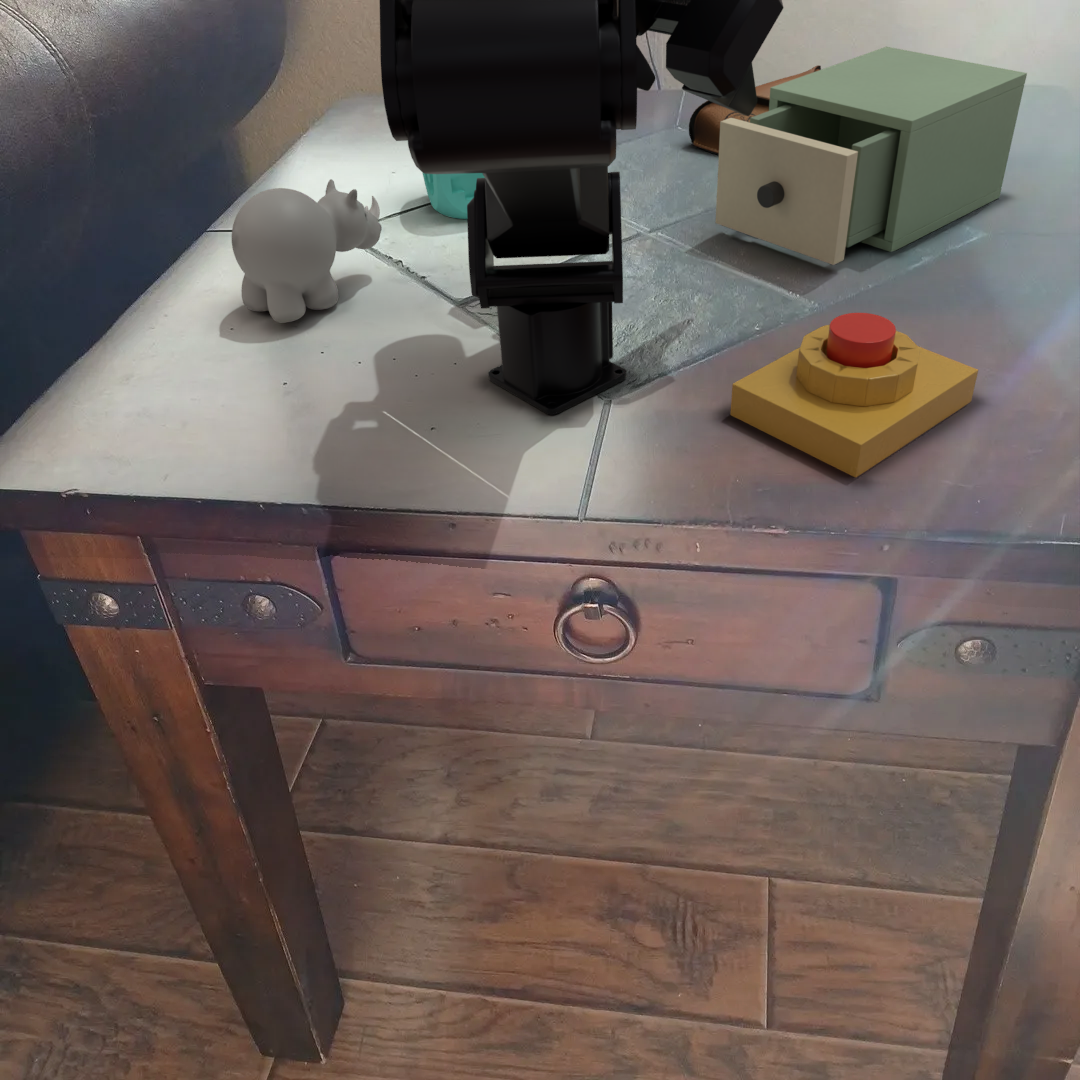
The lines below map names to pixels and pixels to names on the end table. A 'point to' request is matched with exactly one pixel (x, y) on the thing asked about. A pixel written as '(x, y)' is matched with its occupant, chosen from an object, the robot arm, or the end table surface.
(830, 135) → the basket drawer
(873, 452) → the control block
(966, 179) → the green drawer cabinet
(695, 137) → the sunglasses case
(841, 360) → the button
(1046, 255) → the end table surface
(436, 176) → the decorative dice
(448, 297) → the end table surface
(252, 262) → the chubby cartoon animal
